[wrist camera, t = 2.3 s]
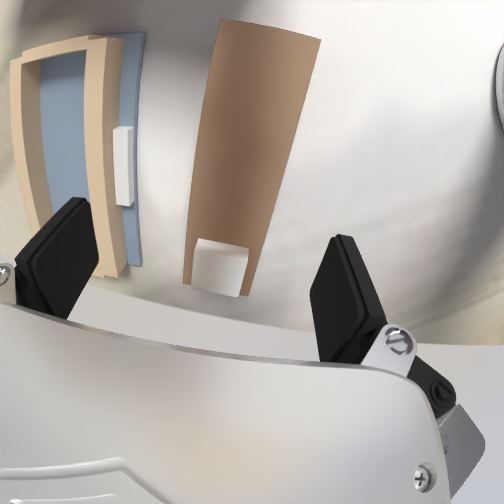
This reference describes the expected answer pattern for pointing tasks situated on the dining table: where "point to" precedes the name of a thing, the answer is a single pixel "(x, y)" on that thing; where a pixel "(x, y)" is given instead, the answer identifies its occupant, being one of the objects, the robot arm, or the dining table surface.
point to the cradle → (81, 137)
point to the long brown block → (243, 150)
